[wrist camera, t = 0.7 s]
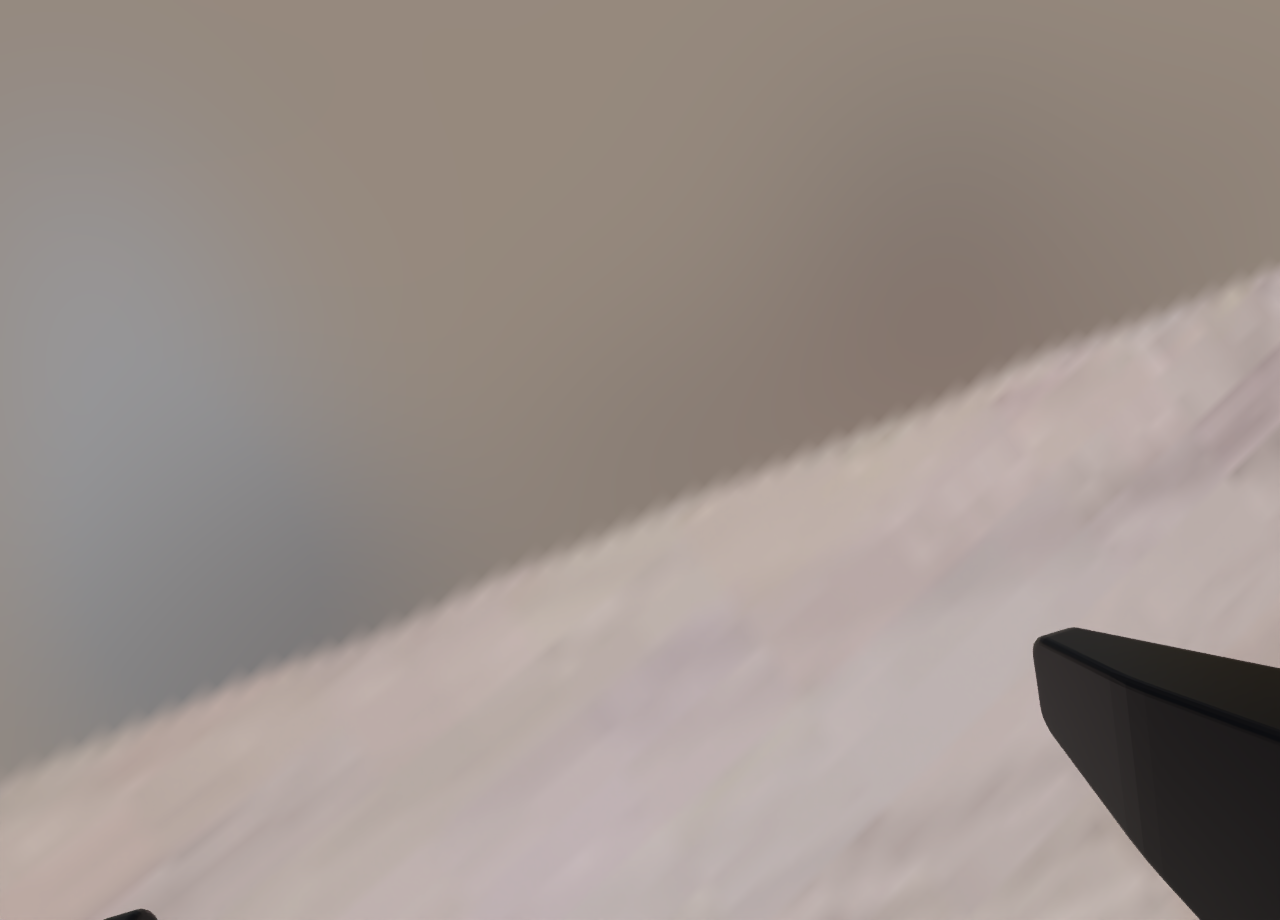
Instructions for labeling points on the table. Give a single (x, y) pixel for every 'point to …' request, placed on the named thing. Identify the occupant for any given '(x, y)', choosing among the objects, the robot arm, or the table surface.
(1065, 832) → the table surface
